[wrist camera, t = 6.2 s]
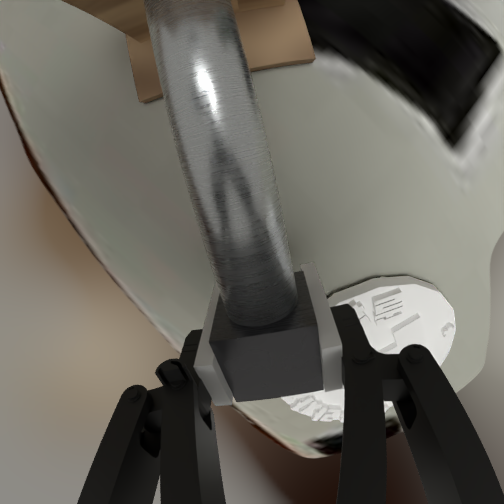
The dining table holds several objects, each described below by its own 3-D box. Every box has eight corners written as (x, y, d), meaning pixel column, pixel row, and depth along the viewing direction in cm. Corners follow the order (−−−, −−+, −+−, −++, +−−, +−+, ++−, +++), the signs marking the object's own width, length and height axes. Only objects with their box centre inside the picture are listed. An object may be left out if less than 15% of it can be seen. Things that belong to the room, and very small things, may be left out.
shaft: (141, -32, 7) (107, -68, 3) (222, -57, 6) (211, -103, 3) (241, 345, 15) (236, 402, 12) (312, 333, 15) (324, 390, 11)
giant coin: (427, 381, 30) (435, 396, 27) (289, 417, 32) (290, 435, 29) (457, 251, 21) (474, 265, 19) (257, 296, 24) (257, 317, 21)
